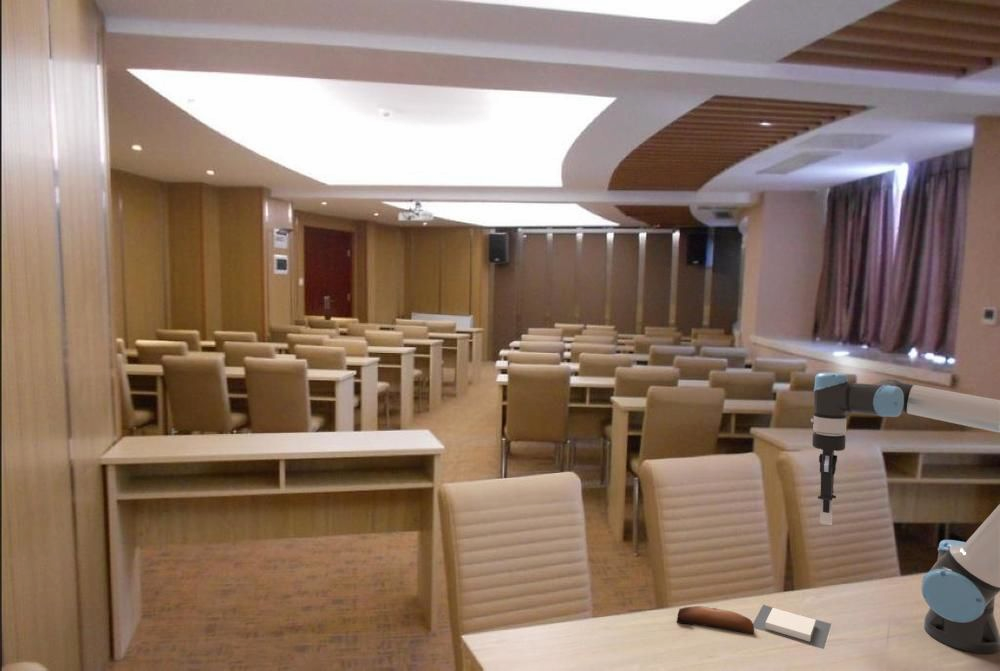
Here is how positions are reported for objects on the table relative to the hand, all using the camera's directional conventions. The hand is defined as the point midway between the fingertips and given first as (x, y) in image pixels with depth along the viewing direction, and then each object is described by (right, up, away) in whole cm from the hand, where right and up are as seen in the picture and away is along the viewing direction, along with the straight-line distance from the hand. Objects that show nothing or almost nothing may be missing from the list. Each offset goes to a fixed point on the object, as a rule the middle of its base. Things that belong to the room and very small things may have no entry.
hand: (825, 523), depth 165 cm
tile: (-10, -22, -4) cm, 25 cm away
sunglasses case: (-31, -24, -5) cm, 39 cm away
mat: (-12, -24, -7) cm, 27 cm away
